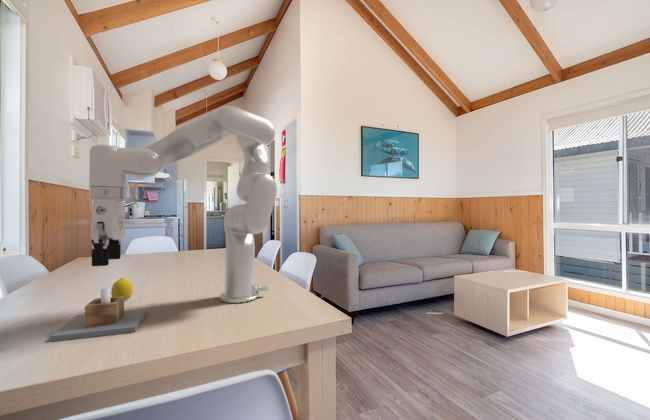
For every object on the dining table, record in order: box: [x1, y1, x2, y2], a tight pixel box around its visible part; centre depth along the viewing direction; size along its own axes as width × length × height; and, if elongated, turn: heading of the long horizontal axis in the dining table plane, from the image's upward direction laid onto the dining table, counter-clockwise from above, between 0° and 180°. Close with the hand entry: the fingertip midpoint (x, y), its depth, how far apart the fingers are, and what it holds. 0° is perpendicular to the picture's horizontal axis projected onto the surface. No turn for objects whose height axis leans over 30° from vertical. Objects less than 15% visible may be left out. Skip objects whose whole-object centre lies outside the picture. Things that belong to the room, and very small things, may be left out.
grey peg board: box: [50, 287, 148, 342], centre depth 74 cm, size 16×14×9 cm
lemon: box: [111, 277, 134, 303], centre depth 91 cm, size 6×6×8 cm
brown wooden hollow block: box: [84, 296, 125, 327], centre depth 74 cm, size 6×6×5 cm
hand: (107, 262), depth 74 cm, fingers open, 9 cm apart
